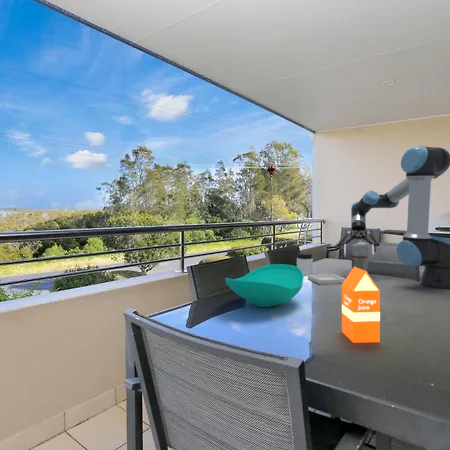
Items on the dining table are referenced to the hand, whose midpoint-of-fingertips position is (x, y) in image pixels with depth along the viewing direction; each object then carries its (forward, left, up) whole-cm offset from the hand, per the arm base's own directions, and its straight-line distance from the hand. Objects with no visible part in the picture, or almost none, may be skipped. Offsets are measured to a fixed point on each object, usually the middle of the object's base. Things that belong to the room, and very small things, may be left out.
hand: (358, 255), depth 180 cm
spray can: (-1, 0, -13) cm, 13 cm away
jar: (+23, +20, -13) cm, 33 cm away
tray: (+2, +17, -13) cm, 22 cm away
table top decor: (-33, +60, -13) cm, 70 cm away
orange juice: (-72, +43, -13) cm, 85 cm away
